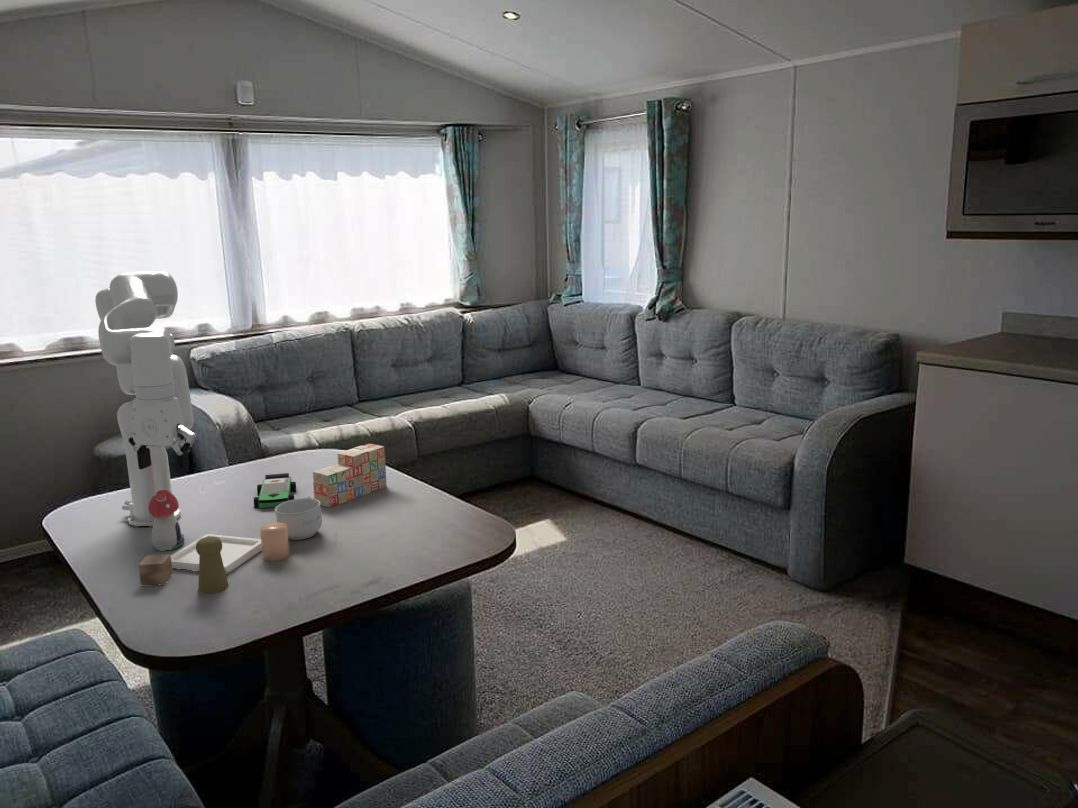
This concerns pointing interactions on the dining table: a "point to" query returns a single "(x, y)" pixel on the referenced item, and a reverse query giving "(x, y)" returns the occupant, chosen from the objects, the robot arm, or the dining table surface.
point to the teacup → (300, 517)
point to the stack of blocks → (351, 475)
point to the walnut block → (155, 569)
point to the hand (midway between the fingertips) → (164, 469)
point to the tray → (231, 553)
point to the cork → (211, 566)
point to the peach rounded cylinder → (274, 541)
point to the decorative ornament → (165, 521)
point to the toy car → (274, 490)
